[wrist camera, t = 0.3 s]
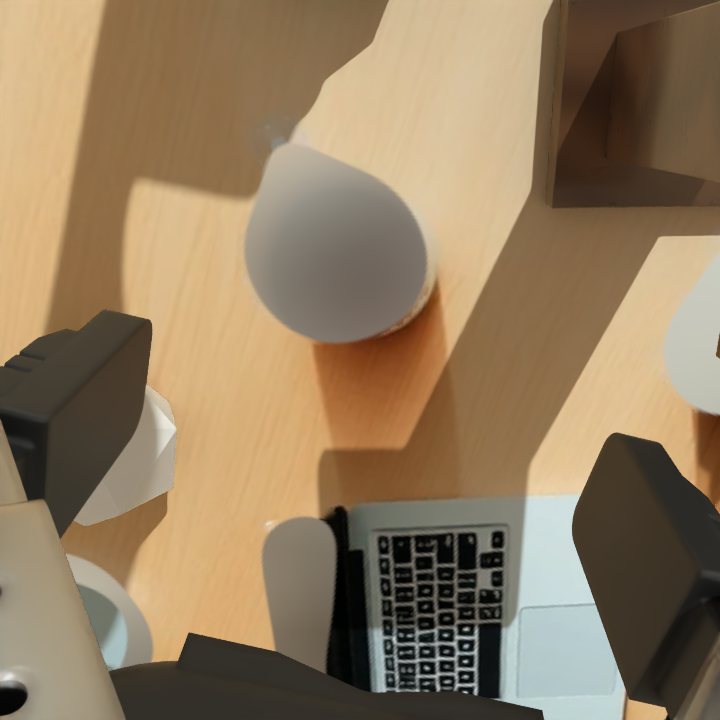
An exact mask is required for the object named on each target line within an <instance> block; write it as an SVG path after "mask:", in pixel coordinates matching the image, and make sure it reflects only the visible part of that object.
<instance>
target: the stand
mask: <svg viewBox="0 0 720 720" xmlns="http://www.w3.org/2000/svg"><path fill="white" fill-rule="evenodd" d="M545 204H546V205H548V206H549V207H551V208H600V207H671V206H720V0H561V5H560V18H559V31H558V44H557V57H556V70H555V83H554V96H553V109H552V122H551V135H550V148H549V161H548V174H547V187H546V200H545ZM716 356H717V357H718V358H720V335H719V341H718V346H717V352H716Z"/></svg>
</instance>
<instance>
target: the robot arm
mask: <svg viewBox="0 0 720 720" xmlns="http://www.w3.org/2000/svg"><path fill="white" fill-rule="evenodd" d="M151 341H152V323H151V321H150V320H149V319H144V318H140V317H136V316H132V315H128V314H124V313H119V312H115V311H111V310H107V309H105V310H103V311H101V312H100V313H99V314H98V315H97V316H96V317H94V318H93V319H92V320H91V321H90V322H88V323H87V324H86V325H85V326H84V327H82V328H81V329H80V330H79V331H78V332H76V331H72V330H68V329H65V330H61V331H58V332H55V333H52V334H49V335H46V336H42V337H39V338H37V339H36V340H35V341H33V342H32V343H31V344H29V345H28V346H27V347H25V348H24V349H23V350H22V351H20V354H19V355H15V356H14V357H12V358H11V359H10V360H9V361H7V362H6V363H5V366H4V367H2V366H1V367H0V720H544V717H543V712H542V710H539V709H534V708H530V707H525V706H521V705H516V704H511V703H507V702H502V701H498V700H493V699H489V698H484V697H480V696H475V695H471V694H466V693H462V692H457V691H454V692H383V693H375V692H367V691H362V690H360V689H357V688H355V687H353V686H350V685H348V684H346V683H344V682H342V681H340V680H337V679H335V678H333V677H331V676H329V675H326V674H324V673H322V672H320V671H318V670H316V669H313V668H311V667H309V666H307V665H305V664H302V663H300V662H298V661H296V660H294V659H292V658H289V657H287V656H285V655H283V654H281V653H278V652H275V651H271V650H266V649H262V648H257V647H253V646H248V645H244V644H239V643H235V642H230V641H226V640H221V639H216V638H212V637H207V636H203V635H198V634H194V633H188V636H187V639H186V641H185V644H184V647H183V649H182V652H181V655H180V657H179V660H178V661H162V662H154V663H145V664H138V665H134V666H129V667H124V668H120V669H116V670H112V671H109V672H108V669H107V666H106V663H105V661H104V658H103V655H102V653H101V650H100V647H99V644H98V642H97V639H96V636H95V633H94V631H93V628H92V625H91V623H90V620H89V617H88V614H87V612H86V609H85V606H84V603H83V601H82V598H81V595H80V592H79V590H78V587H77V584H76V582H75V579H74V576H73V573H72V571H71V568H70V565H69V562H68V560H67V557H66V554H65V552H64V549H63V546H62V543H61V541H60V538H61V537H62V535H63V534H64V533H65V531H66V530H67V528H68V527H69V526H70V524H71V523H72V521H73V520H74V519H75V517H76V516H77V514H78V513H79V511H80V510H81V509H82V507H83V506H84V504H85V503H86V502H87V500H88V499H89V497H90V496H91V495H92V493H93V492H94V490H95V489H96V488H97V486H98V485H99V483H100V482H101V481H102V479H103V478H104V476H105V475H106V474H107V472H108V471H109V469H110V468H111V467H112V465H113V464H114V462H115V461H116V460H117V458H118V457H119V455H120V454H121V453H122V451H123V450H124V448H125V447H126V445H127V444H128V443H129V441H130V440H131V438H132V437H133V435H134V433H135V431H136V429H137V426H138V424H139V421H140V418H141V414H142V410H143V406H144V399H145V391H146V382H147V374H148V366H149V357H150V349H151ZM572 536H573V541H574V544H575V547H576V550H577V553H578V556H579V558H580V561H581V564H582V567H583V570H584V573H585V575H586V578H587V581H588V584H589V587H590V589H591V592H592V595H593V598H594V601H595V604H596V606H597V609H598V612H599V615H600V618H601V621H602V623H603V626H604V629H605V632H606V635H607V638H608V640H609V643H610V646H611V649H612V652H613V655H614V657H615V660H616V663H617V666H618V669H619V672H620V674H621V677H622V680H623V683H624V686H625V688H626V691H627V694H628V697H629V699H630V700H634V701H639V702H643V703H648V704H652V705H657V706H661V707H665V708H666V711H667V713H668V715H667V716H666V718H665V719H664V720H720V514H719V513H718V511H717V510H716V508H715V507H714V506H713V504H712V503H711V501H710V500H709V498H708V497H707V496H706V495H704V494H703V493H702V492H701V491H700V490H699V489H697V488H696V487H695V486H694V485H693V484H692V483H690V482H689V481H688V480H687V479H686V478H685V477H683V476H682V475H681V473H680V472H679V470H678V469H677V467H676V466H675V464H674V463H673V461H672V460H671V458H670V457H669V455H668V454H667V452H666V451H665V449H664V448H663V446H662V445H661V444H660V443H658V442H654V441H650V440H646V439H642V438H637V437H633V436H629V435H625V434H621V433H613V434H611V435H610V436H609V437H608V438H607V440H606V441H605V443H604V445H603V447H602V449H601V451H600V454H599V456H598V458H597V460H596V463H595V465H594V467H593V469H592V472H591V474H590V476H589V478H588V480H587V483H586V485H585V487H584V489H583V492H582V494H581V496H580V498H579V501H578V503H577V505H576V508H575V511H574V516H573V522H572Z"/></svg>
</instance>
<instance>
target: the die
mask: <svg viewBox="0 0 720 720" xmlns="http://www.w3.org/2000/svg"><path fill="white" fill-rule="evenodd" d="M176 435H177V428H176V424H175V421H174V418H173V414H172V411H171V408H170V404H169V402H168V401H167V400H166V399H165V398H163V397H162V396H161V395H160V394H158V393H157V392H156V391H155V390H153V389H152V388H151V387H150V386H148V385H147V384H146V391H145V399H144V406H143V410H142V414H141V418H140V421H139V424H138V426H137V429H136V431H135V433H134V435H133V437H132V438H131V440H130V441H129V443H128V444H127V445H126V447H125V448H124V450H123V451H122V453H121V454H120V455H119V457H118V458H117V460H116V461H115V462H114V464H113V465H112V467H111V468H110V469H109V471H108V472H107V474H106V475H105V476H104V478H103V479H102V481H101V482H100V483H99V485H98V486H97V488H96V489H95V490H94V492H93V493H92V495H91V496H90V497H89V499H88V500H87V502H86V503H85V504H84V506H83V507H82V509H81V510H80V511H79V513H78V514H77V516H76V517H75V519H74V520H73V521H75V522H77V523H79V524H81V525H84V526H89V525H92V524H95V523H98V522H101V521H104V520H107V519H110V518H113V517H116V516H120V515H122V514H124V513H126V512H128V511H130V510H132V509H134V508H135V507H137V506H139V505H141V504H143V503H145V502H147V501H149V500H151V499H153V498H155V497H157V496H159V495H161V494H163V493H165V492H167V491H169V490H171V489H172V488H174V471H175V453H176Z"/></svg>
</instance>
